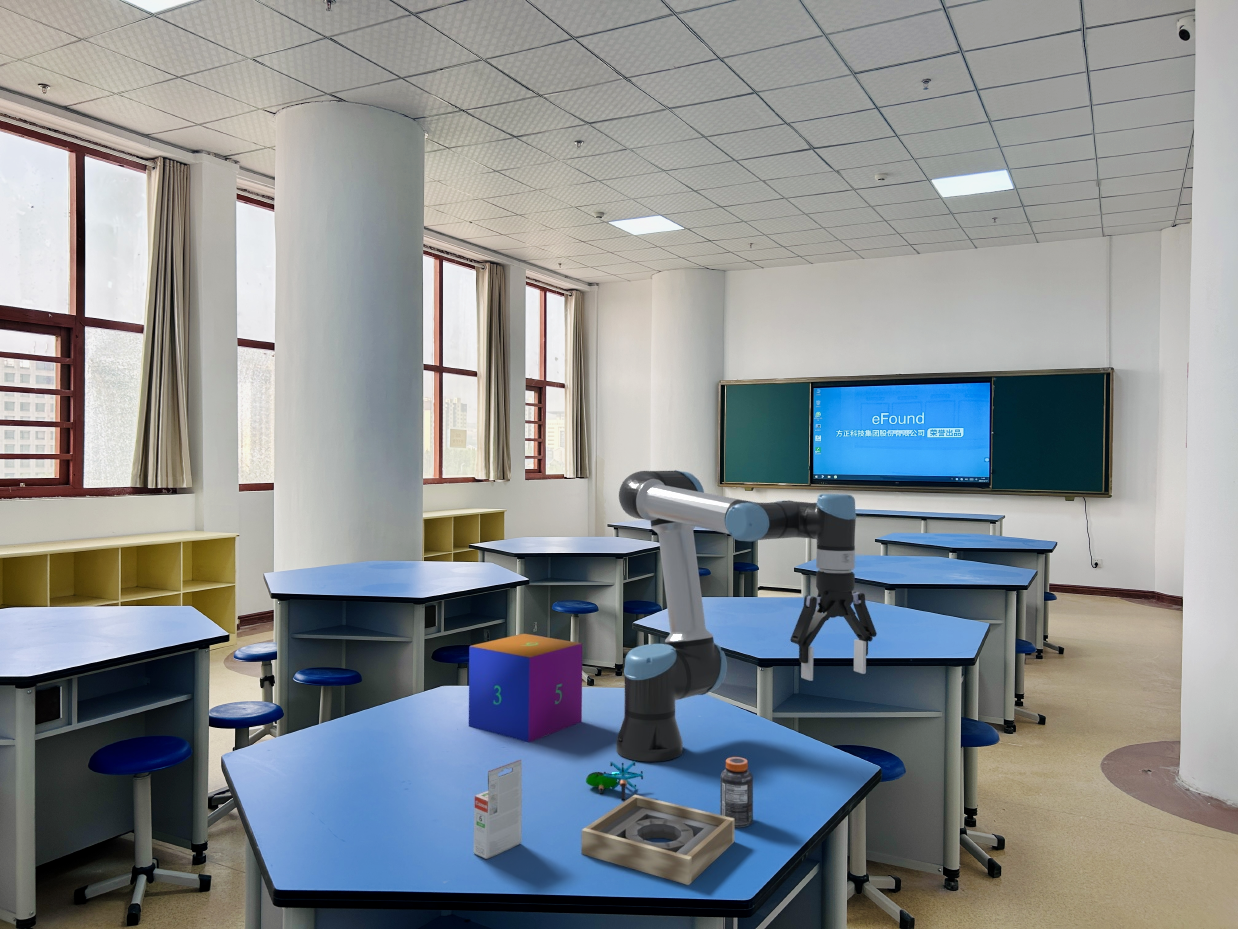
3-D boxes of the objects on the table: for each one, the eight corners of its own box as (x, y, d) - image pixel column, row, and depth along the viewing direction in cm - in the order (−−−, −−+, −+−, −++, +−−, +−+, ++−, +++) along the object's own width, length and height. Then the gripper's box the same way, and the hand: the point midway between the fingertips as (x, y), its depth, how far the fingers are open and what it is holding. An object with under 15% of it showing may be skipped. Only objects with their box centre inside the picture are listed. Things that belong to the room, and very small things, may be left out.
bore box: (581, 853, 142) (581, 830, 142) (634, 816, 158) (634, 794, 158) (688, 885, 132) (688, 859, 132) (734, 841, 147) (734, 818, 147)
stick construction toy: (648, 776, 172) (636, 753, 168) (649, 807, 166) (636, 783, 162) (593, 788, 175) (579, 765, 170) (592, 818, 169) (578, 796, 165)
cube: (523, 708, 227) (523, 633, 227) (581, 722, 215) (582, 643, 215) (468, 726, 211) (469, 646, 211) (528, 742, 199) (529, 657, 199)
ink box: (472, 854, 142) (473, 766, 142) (507, 838, 148) (508, 754, 148) (487, 860, 140) (487, 772, 140) (522, 844, 146) (523, 759, 146)
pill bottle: (733, 812, 160) (734, 752, 160) (759, 821, 156) (760, 760, 156) (713, 821, 156) (714, 759, 156) (739, 831, 152) (740, 768, 152)
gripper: (797, 575, 162) (796, 686, 162) (895, 569, 173) (893, 673, 173) (773, 571, 169) (772, 677, 169) (869, 565, 180) (867, 665, 180)
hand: (833, 675), depth 171 cm, fingers open, 13 cm apart
